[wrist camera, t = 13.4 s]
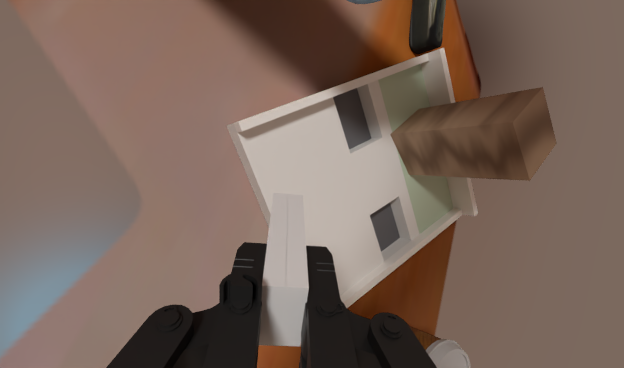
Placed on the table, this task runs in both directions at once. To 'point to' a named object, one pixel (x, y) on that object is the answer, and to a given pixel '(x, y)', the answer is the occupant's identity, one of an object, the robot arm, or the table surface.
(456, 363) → the disposable coffee cup
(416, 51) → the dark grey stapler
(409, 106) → the board
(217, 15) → the table surface
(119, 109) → the table surface
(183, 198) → the table surface
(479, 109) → the walnut block
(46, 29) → the table surface
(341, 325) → the robot arm
